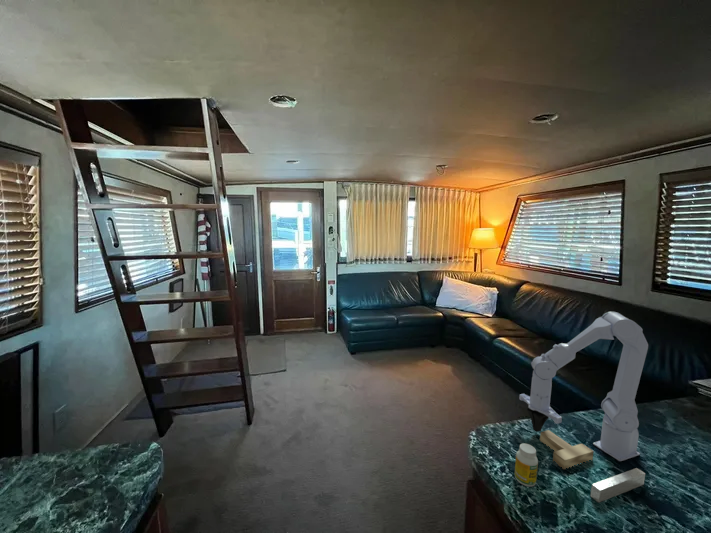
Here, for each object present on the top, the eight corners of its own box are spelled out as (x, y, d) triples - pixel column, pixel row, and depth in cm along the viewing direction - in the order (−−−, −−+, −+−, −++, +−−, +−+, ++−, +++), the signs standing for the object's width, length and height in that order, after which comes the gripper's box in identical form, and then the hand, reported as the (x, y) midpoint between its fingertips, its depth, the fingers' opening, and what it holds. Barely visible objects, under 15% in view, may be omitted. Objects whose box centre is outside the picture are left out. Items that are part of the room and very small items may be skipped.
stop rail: (635, 479, 86) (636, 467, 85) (643, 484, 84) (645, 473, 83) (590, 496, 80) (591, 484, 80) (598, 502, 78) (600, 490, 78)
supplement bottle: (520, 469, 89) (523, 438, 88) (539, 481, 84) (543, 450, 83) (510, 477, 86) (513, 446, 85) (529, 490, 81) (532, 458, 80)
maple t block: (557, 435, 103) (557, 427, 103) (592, 460, 93) (593, 451, 92) (530, 443, 100) (530, 434, 99) (563, 469, 89) (564, 460, 88)
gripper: (513, 384, 108) (510, 419, 110) (551, 406, 94) (547, 447, 96) (529, 381, 110) (526, 415, 112) (568, 403, 96) (563, 442, 98)
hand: (537, 430), depth 104 cm, fingers closed
